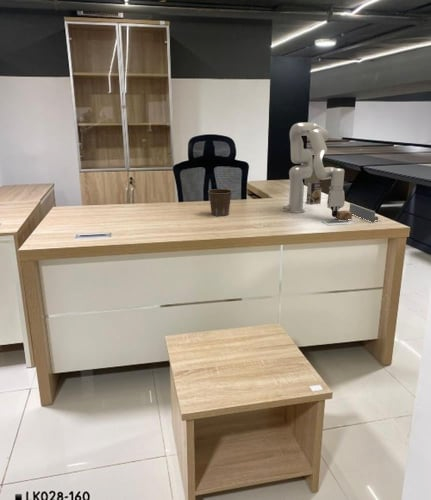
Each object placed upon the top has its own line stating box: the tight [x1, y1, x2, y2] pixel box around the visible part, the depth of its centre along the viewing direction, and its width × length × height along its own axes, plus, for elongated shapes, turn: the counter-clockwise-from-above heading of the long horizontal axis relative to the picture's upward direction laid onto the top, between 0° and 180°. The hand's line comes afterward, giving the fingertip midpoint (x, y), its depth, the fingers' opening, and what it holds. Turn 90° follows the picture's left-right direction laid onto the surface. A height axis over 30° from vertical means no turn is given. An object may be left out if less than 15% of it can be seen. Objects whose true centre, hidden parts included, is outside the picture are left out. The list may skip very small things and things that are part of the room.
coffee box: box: [305, 181, 323, 205], centre depth 324 cm, size 9×6×16 cm
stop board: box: [348, 203, 379, 223], centre depth 279 cm, size 6×26×7 cm, turn 15°
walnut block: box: [335, 210, 353, 221], centre depth 276 cm, size 8×7×5 cm
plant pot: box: [207, 188, 233, 217], centre depth 288 cm, size 16×16×16 cm
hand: (334, 216), depth 275 cm, fingers closed
